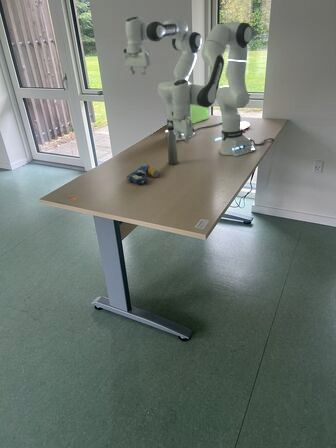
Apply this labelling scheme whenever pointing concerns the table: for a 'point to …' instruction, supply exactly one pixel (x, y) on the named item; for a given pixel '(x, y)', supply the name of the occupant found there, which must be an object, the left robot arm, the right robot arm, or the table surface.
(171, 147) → the bottle
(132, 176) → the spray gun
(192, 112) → the light green block
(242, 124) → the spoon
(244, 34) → the right robot arm
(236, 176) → the table surface
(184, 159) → the table surface
